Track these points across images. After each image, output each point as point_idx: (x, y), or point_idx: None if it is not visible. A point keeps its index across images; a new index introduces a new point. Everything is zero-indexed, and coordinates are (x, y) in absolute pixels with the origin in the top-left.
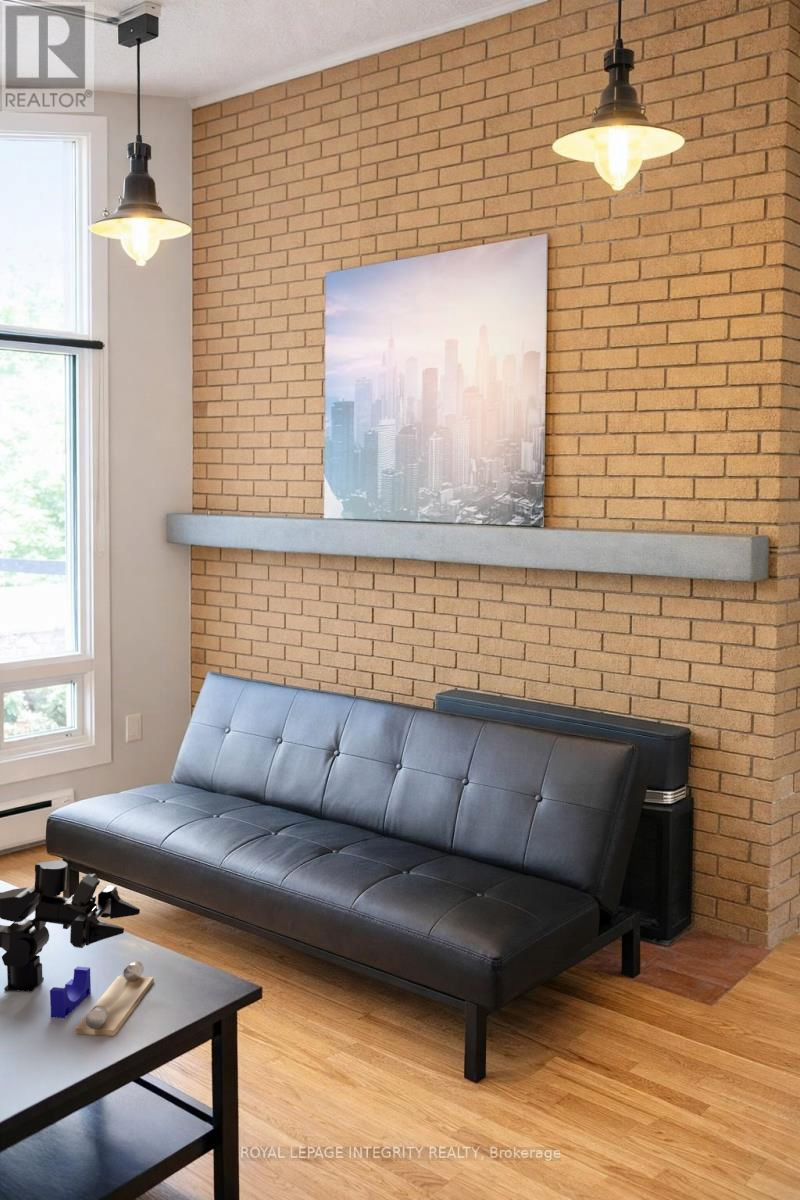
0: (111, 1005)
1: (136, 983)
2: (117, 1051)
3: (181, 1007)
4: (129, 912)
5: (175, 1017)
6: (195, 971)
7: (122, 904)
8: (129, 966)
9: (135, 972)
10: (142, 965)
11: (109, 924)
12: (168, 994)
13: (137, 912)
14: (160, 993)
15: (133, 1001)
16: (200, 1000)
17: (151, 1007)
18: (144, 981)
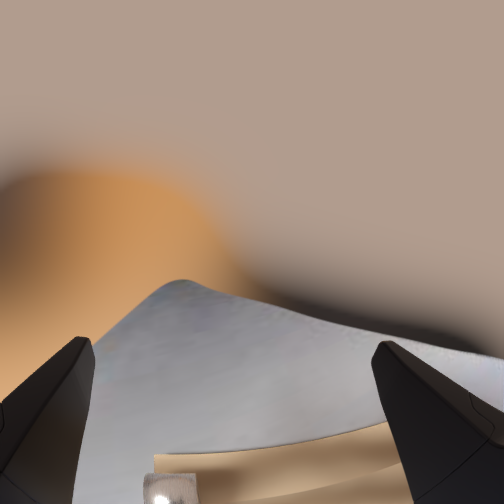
0: (364, 479)
1: (208, 486)
2: (465, 370)
3: (280, 355)
4: (74, 419)
5: (324, 349)
6: None
7: (25, 444)
8: (196, 498)
9: (196, 484)
10: (149, 473)
11: (447, 393)
12: (224, 402)
13: (90, 361)
14: (223, 421)
15: (322, 442)
16: (238, 335)
17: (303, 410)
18: (190, 469)
